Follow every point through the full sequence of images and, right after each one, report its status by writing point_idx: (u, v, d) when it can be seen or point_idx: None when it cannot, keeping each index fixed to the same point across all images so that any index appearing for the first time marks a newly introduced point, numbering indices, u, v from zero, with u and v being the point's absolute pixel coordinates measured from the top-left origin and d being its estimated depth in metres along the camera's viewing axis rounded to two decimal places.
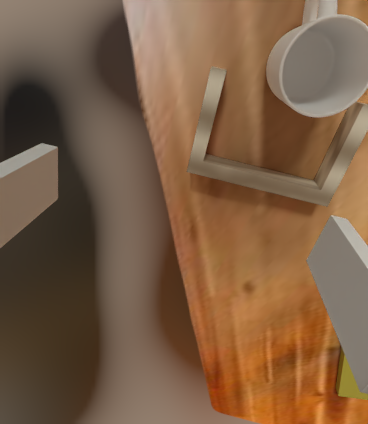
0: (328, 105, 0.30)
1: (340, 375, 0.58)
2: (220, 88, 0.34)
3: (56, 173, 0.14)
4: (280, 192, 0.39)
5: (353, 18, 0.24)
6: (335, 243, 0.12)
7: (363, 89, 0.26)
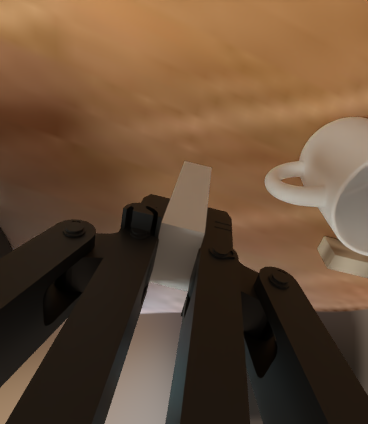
0: None
1: None
2: (352, 260, 0.29)
3: None
4: None
5: (342, 187, 0.19)
6: None
7: None
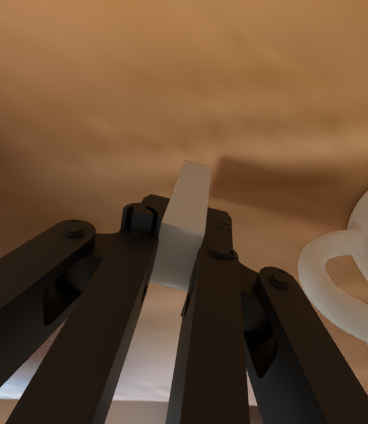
0: None
1: None
2: None
3: None
4: None
5: None
6: None
7: None
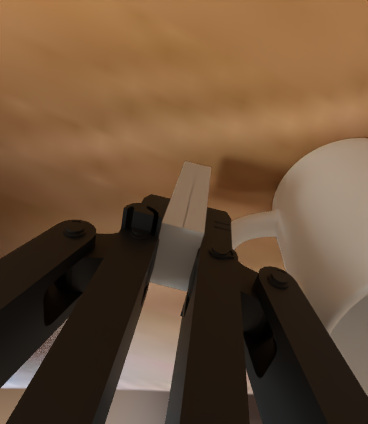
0: None
1: None
2: None
3: None
4: None
5: (337, 317, 0.08)
6: None
7: None
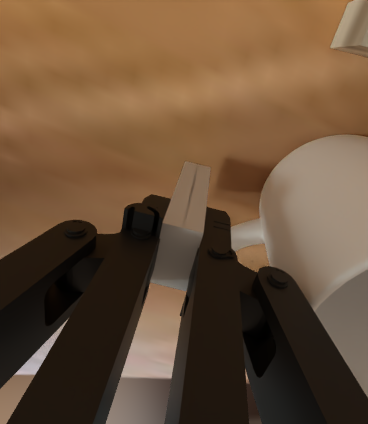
0: None
1: None
2: None
3: None
4: None
5: None
6: None
7: None
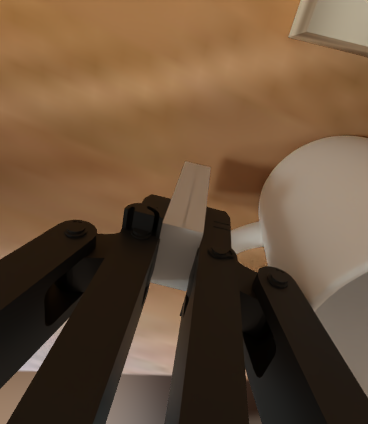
0: None
1: None
2: None
3: None
4: None
5: None
6: None
7: None
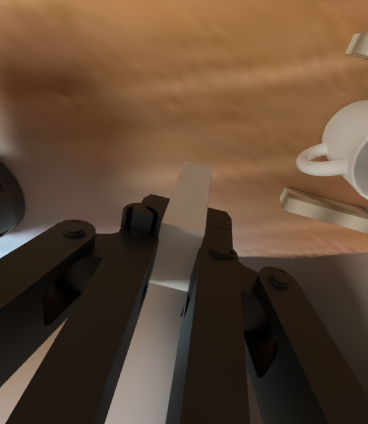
0: None
1: None
2: (304, 203, 0.35)
3: None
4: None
5: (356, 156, 0.26)
6: None
7: None
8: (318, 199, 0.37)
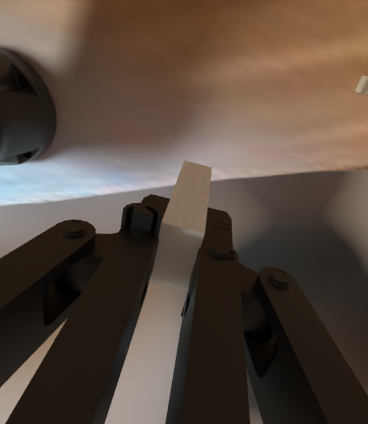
0: None
1: None
2: None
3: None
4: None
5: None
6: None
7: None
8: None
